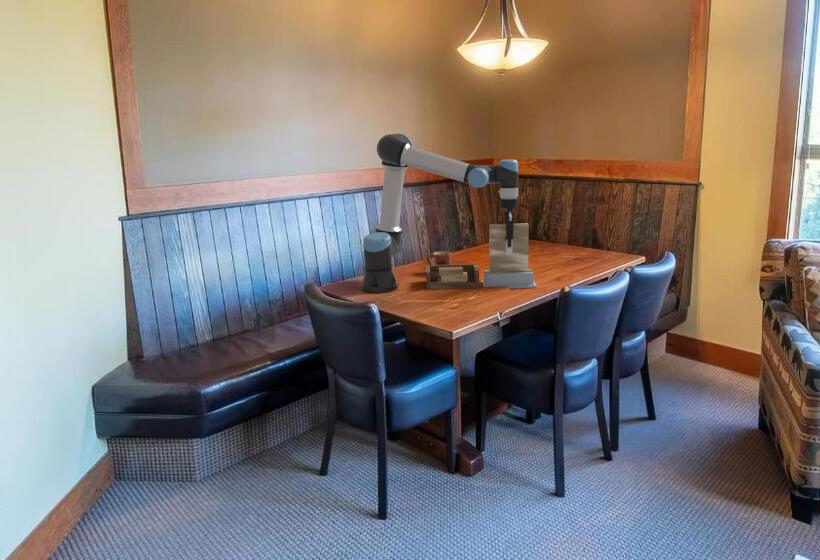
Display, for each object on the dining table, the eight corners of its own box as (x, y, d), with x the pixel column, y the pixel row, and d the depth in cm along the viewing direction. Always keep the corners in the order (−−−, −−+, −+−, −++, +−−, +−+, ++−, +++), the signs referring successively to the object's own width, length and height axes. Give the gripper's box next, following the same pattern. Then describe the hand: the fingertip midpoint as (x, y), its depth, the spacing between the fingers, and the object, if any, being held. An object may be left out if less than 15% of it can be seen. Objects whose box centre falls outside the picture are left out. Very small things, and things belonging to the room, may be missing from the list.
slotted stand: (481, 282, 267) (481, 269, 265) (532, 281, 266) (532, 268, 264) (483, 288, 257) (483, 275, 256) (536, 287, 256) (536, 273, 255)
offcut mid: (441, 278, 262) (441, 272, 262) (466, 277, 262) (466, 272, 261) (441, 281, 258) (441, 275, 257) (467, 280, 257) (467, 275, 257)
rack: (426, 282, 270) (426, 265, 268) (477, 281, 269) (476, 263, 267) (426, 291, 257) (426, 272, 255) (479, 290, 256) (479, 271, 254)
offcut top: (438, 273, 262) (438, 267, 261) (462, 272, 262) (462, 266, 261) (439, 275, 257) (439, 270, 256) (463, 275, 257) (463, 269, 256)
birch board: (489, 277, 262) (489, 224, 256) (527, 276, 261) (527, 223, 256) (490, 278, 260) (489, 225, 254) (528, 277, 259) (528, 223, 254)
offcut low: (438, 284, 263) (438, 278, 263) (466, 283, 263) (466, 278, 262) (438, 287, 258) (438, 281, 258) (466, 286, 258) (466, 280, 257)
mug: (455, 273, 285) (454, 251, 283) (448, 277, 278) (447, 255, 275) (431, 271, 290) (431, 250, 288) (424, 276, 283) (423, 254, 280)
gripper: (497, 196, 260) (497, 250, 265) (501, 200, 245) (501, 257, 251) (515, 195, 259) (515, 250, 265) (520, 199, 245) (520, 257, 251)
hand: (508, 253), depth 258 cm, fingers closed on birch board, 2 cm apart
